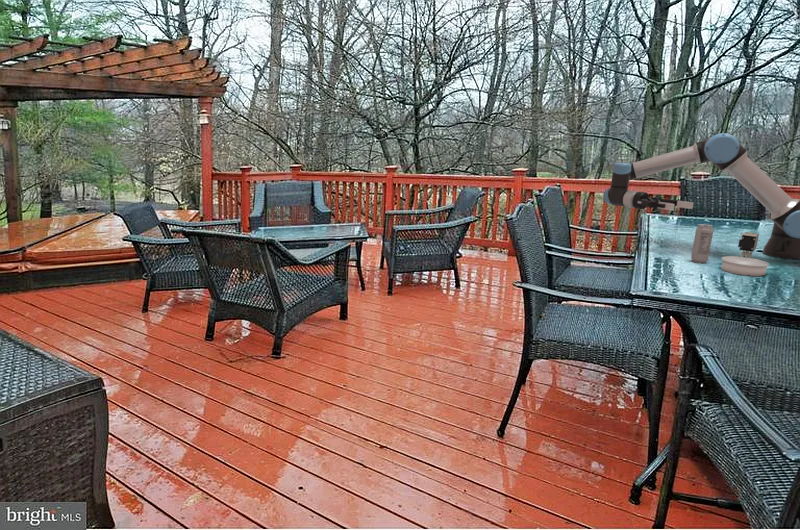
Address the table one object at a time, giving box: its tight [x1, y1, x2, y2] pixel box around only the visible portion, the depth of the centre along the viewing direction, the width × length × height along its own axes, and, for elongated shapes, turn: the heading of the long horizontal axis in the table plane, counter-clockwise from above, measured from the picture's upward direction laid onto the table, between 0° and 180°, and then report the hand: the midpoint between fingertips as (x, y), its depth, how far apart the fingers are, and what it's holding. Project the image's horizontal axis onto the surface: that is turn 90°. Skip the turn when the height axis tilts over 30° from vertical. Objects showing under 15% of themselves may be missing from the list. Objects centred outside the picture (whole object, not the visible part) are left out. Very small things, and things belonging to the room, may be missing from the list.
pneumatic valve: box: [737, 231, 760, 258], centre depth 207 cm, size 6×12×12 cm, turn 139°
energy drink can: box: [690, 223, 714, 264], centre depth 202 cm, size 6×6×15 cm
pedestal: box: [720, 255, 770, 277], centre depth 190 cm, size 15×15×4 cm
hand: (683, 206), depth 207 cm, fingers open, 13 cm apart
